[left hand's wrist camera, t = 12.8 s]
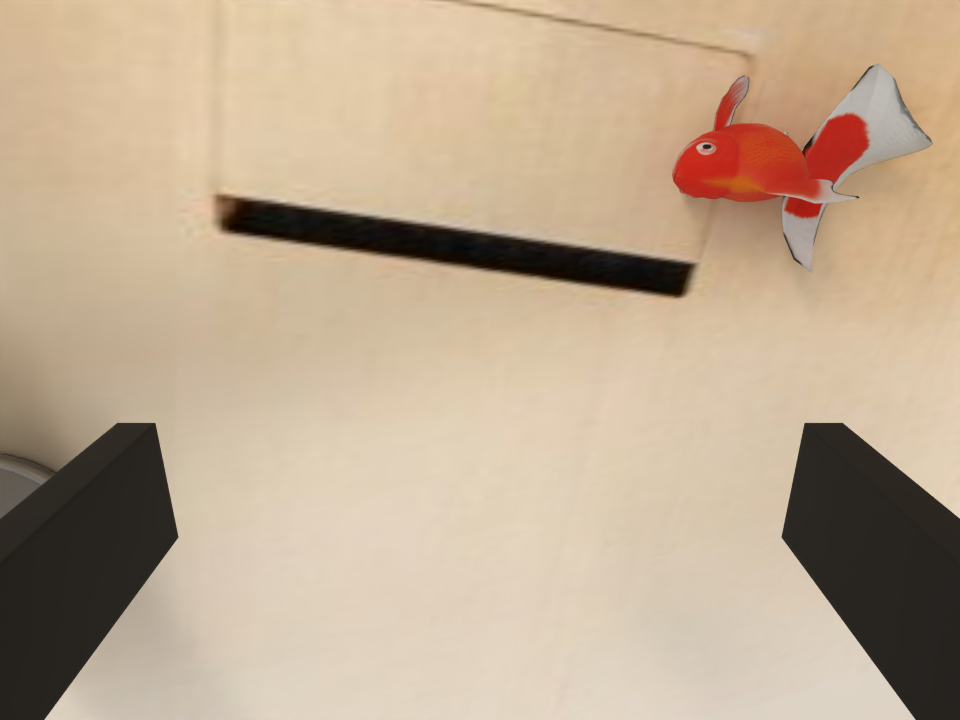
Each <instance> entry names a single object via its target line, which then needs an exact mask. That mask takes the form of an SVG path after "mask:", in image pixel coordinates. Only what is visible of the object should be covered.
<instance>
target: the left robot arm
mask: <svg viewBox="0 0 960 720" xmlns="http://www.w3.org/2000/svg"><path fill="white" fill-rule="evenodd" d="M177 538H178V533H177V528H176V523H175V518H174V513H173V508H172V503H171V498H170V493H169V488H168V483H167V478H166V473H165V469H164V464H163V459H162V454H161V449H160V444H159V439H158V434H157V429H156V424H155V423H117V424H116V425H114V426H113V427H112V428H111V429H110V430H108V431H107V432H106V433H105V434H103V435H102V436H101V437H100V438H99V439H97V440H96V441H95V442H94V443H92V444H91V445H90V446H89V447H87V448H86V449H85V450H84V451H83V452H81V453H80V454H79V455H78V456H76V457H75V458H74V459H73V460H72V461H70V462H69V463H68V464H67V465H65V466H64V467H63V468H62V469H61V470H59V471H58V472H57V473H54V472H52V471H51V470H49V469H47V468H45V467H43V466H41V465H38V464H36V463H33V462H31V461H28V460H25V459H22V458H18V457H14V456H9V455H3V454H0V720H44V719H45V718H46V717H47V715H48V714H49V713H50V711H51V710H52V709H53V707H54V706H55V704H56V703H57V702H58V700H59V699H60V698H61V696H62V695H63V694H64V692H65V691H66V689H67V688H68V687H69V685H70V684H71V683H72V681H73V680H74V679H75V677H76V676H77V675H78V673H79V672H80V670H81V669H82V668H83V666H84V665H85V664H86V662H87V661H88V660H89V658H90V657H91V655H92V654H93V653H94V651H95V650H96V649H97V647H98V646H99V645H100V643H101V642H102V640H103V639H104V638H105V636H106V635H107V634H108V632H109V631H110V630H111V628H112V627H113V626H114V624H115V623H116V621H117V620H118V619H119V617H120V616H121V615H122V613H123V612H124V611H125V609H126V608H127V606H128V605H129V604H130V602H131V601H132V600H133V598H134V597H135V596H136V594H137V593H138V592H139V590H140V589H141V587H142V586H143V585H144V583H145V582H146V581H147V579H148V578H149V577H150V575H151V574H152V572H153V571H154V570H155V568H156V567H157V566H158V564H159V563H160V562H161V560H162V559H163V558H164V556H165V555H166V553H167V552H168V551H169V549H170V548H171V547H172V545H173V544H174V543H175V541H176V540H177ZM782 538H783V540H784V541H785V543H786V544H787V545H788V547H789V548H790V549H791V551H792V552H793V553H794V555H795V556H796V558H797V559H798V560H799V562H800V563H801V564H802V566H803V567H804V568H805V570H806V571H807V572H808V574H809V575H810V577H811V578H812V579H813V581H814V582H815V583H816V585H817V586H818V587H819V589H820V590H821V592H822V593H823V594H824V596H825V597H826V598H827V600H828V601H829V602H830V604H831V605H832V606H833V608H834V609H835V611H836V612H837V613H838V615H839V616H840V617H841V619H842V620H843V621H844V623H845V624H846V626H847V627H848V628H849V630H850V631H851V632H852V634H853V635H854V636H855V638H856V639H857V641H858V642H859V643H860V645H861V646H862V647H863V649H864V650H865V651H866V653H867V654H868V655H869V657H870V658H871V660H872V661H873V662H874V664H875V665H876V666H877V668H878V669H879V670H880V672H881V673H882V674H883V676H884V677H885V679H886V680H887V681H888V683H889V684H890V685H891V687H892V688H893V689H894V691H895V692H896V694H897V695H898V696H899V698H900V699H901V700H902V702H903V703H904V704H905V706H906V707H907V709H908V710H909V711H910V713H911V714H912V715H913V717H914V718H915V719H916V720H960V519H959V518H958V517H957V516H956V515H955V514H953V513H952V512H951V511H950V510H948V509H947V508H946V507H945V506H944V505H942V504H941V503H940V502H939V501H937V500H936V499H935V498H934V497H933V496H931V495H930V494H929V493H928V492H926V491H925V490H924V489H923V488H922V487H920V486H919V485H918V484H917V483H915V482H914V481H913V480H912V479H910V478H909V477H908V476H907V475H906V474H904V473H903V472H902V471H901V470H899V469H898V468H897V467H896V466H895V465H893V464H892V463H891V462H890V461H888V460H887V459H886V458H885V457H884V456H882V455H881V454H880V453H879V452H877V451H876V450H875V449H874V448H873V447H871V446H870V445H869V444H868V443H866V442H865V441H864V440H863V439H861V438H860V437H859V436H858V435H857V434H855V433H854V432H853V431H852V430H850V429H849V428H848V427H847V426H846V425H844V424H843V423H805V424H804V429H803V434H802V439H801V444H800V449H799V454H798V459H797V464H796V469H795V473H794V478H793V483H792V488H791V493H790V498H789V503H788V508H787V513H786V518H785V523H784V528H783V533H782Z"/></svg>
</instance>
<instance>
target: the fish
mask: <svg viewBox="0 0 960 720" xmlns="http://www.w3.org/2000/svg"><path fill="white" fill-rule="evenodd" d="M748 87H749V77H747V76H742V77H740V78H738V79H737V80H736V81H735V82H734V83H733V84H732V86H731V88H730V89H729V91H728V93H727V94H726V95H725V96H724V97H723V98H722V100H721V103H720V105H719V107H718V110H717V112H716V117H715V122H714V128H713V131H711V132H709V133H706V134H703V135H701V136H700V137H699V138H697V139H696V140H694V141H692V142H691V143H690V144H689V145H688V146H686V147H685V148H684V149H683V150H682V152H681V153H680V154H679V156H678V158H677V160H676V161H675V163H674V166H673V173H672V176H673V181H674V183H675V184H676V185H677V186H678V188H679V190H680V192H681V193H683V194H685V195H686V196H688V197H690V198H700V197H704V198H709V199H717V198H720V197H723V198H726V199H730V200H734V201H739V202H755V201H761V200H766V199H771V198H775V197H778V196H781V195H784V197H783V205H782V225H783V232H784V237H785V239H786V241H787V244H788V246H789V249H790V251H791V254H792V256H793V259H794V260H795V261H797V262H798V263H799V264H801V265H802V266H803V267H805V268H806V269H808V270H809V271H810V272H812V252H813V245H814V241H815V237H816V233H817V229H818V225H819V221H820V219H821V217H822V215H823V212H824V210H825V208H826V205H827V203H834V202H839V201H845V200H851V199H857V198H860V197H858V196H849V195H842V194H839V193H836V192H834V191H835V190H836V189H837V187H838V186H839V185H840V184H841V183H842V182H843V181H844V180H845V179H846V178H847V177H848V176H849V175H851V174H852V173H854V172H856V171H858V170H860V169H862V168H864V167H867V166H869V165H872V164H874V163H877V162H881V161H885V160H889V159H893V158H897V157H901V156H904V155H907V154H911V153H914V152H917V151H920V150H923V149H925V148H927V147H929V146H930V145H932V144H933V143H932V141H931V139H930V138H929V137H928V136H927V135H926V134H925V133H924V132H923V131H922V129H921V128H920V127H919V126H918V124H917V123H916V122H915V121H914V119H913V118H912V116H911V114H910V113H909V111H908V109H907V107H906V106H905V104H904V102H903V101H902V98H901V95H900V92H899V89H898V86H897V84H896V81H895V79H894V78H893V77H892V76H891V75H890V74H889V73H888V72H887V71H886V70H885V69H884V68H883V67H882V66H881V65H880V64H876V65H873V66H871V67H869V68H868V69H867V71H866V72H865V73H864V75H863V76H862V77H861V78H860V80H859V81H858V82H857V84H856V85H855V86H854V88H853V89H852V90H851V91H850V92H849V93H848V94H847V96H846V97H845V98H844V99H843V100H842V101H841V102H840V104H839V105H838V106H837V107H836V108H835V110H834V111H833V112H832V113H831V114H830V116H829V117H828V118H827V119H826V121H825V122H824V123H823V124H822V126H821V127H820V128H819V129H818V131H817V132H816V133H815V134H814V136H813V137H812V138H811V139H810V141H809V142H808V143H807V144H806V146H805V147H804V149H803V151H802V152H801V150H800V149H799V148H798V146H797V145H796V144H795V143H794V142H793V140H792V139H791V138H790V137H788V132H786V131H785V132H784V133H782V132H780V131H778V130H776V129H774V128H772V127H769V126H767V125H763V124H733V125H730V124H731V122H732V119H733V115H734V112H735V109H736V108H737V106H738V105H739V103H740V102H741V101H742V100H743V98H744V97H745V96H746V94H747V92H748Z"/></svg>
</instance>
